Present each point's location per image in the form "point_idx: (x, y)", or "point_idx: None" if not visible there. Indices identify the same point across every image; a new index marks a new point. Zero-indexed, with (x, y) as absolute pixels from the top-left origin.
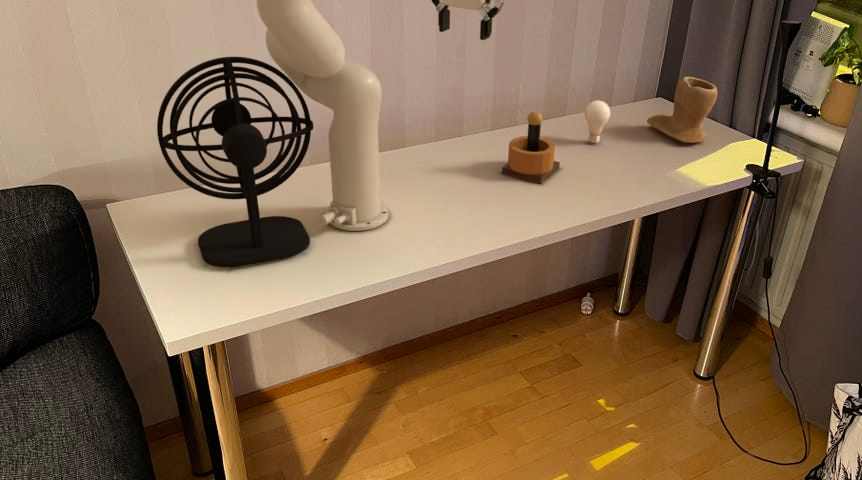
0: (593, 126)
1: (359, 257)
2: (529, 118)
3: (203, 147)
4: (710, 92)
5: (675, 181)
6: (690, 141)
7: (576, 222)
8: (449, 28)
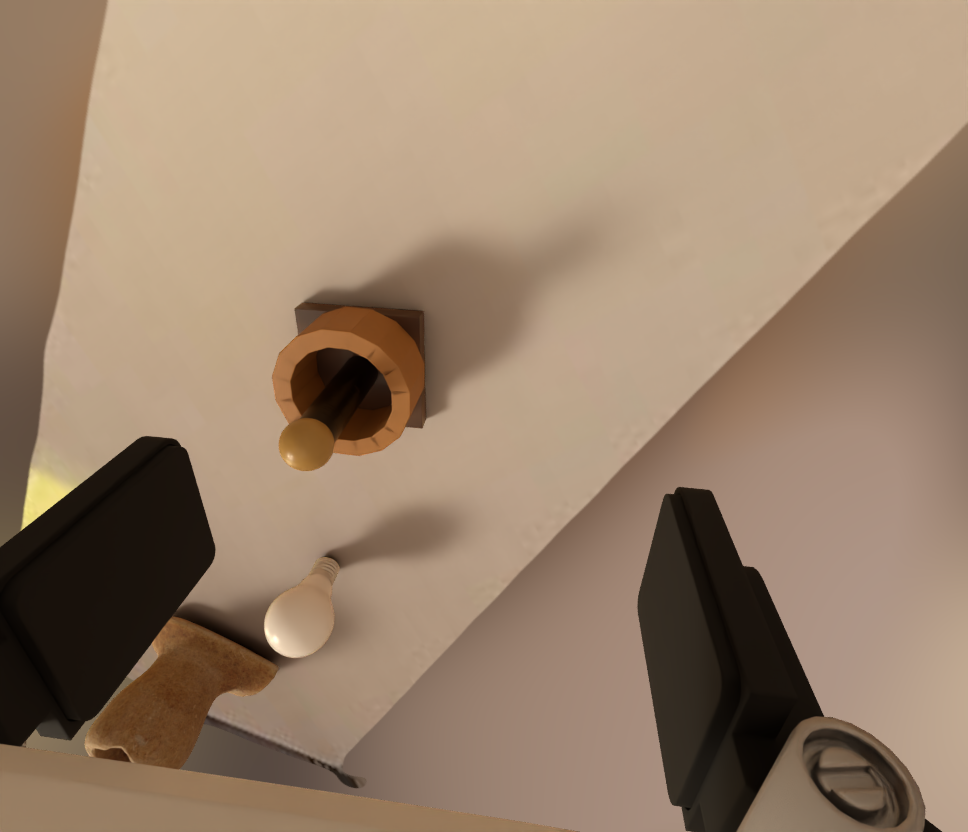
0: (307, 584)
1: None
2: (311, 428)
3: None
4: (85, 739)
5: (88, 463)
6: None
7: (92, 124)
8: (638, 603)
